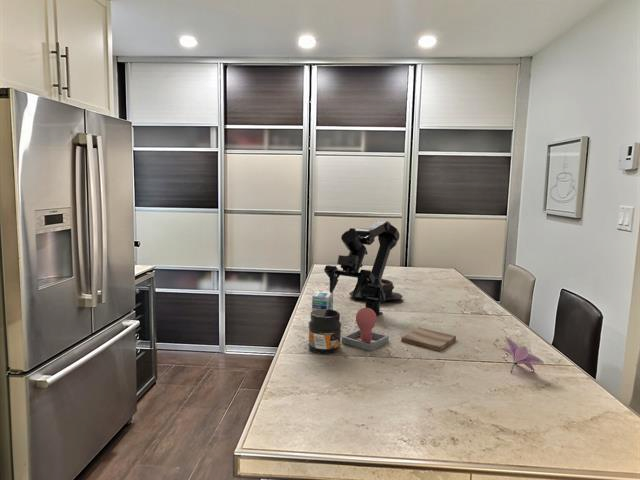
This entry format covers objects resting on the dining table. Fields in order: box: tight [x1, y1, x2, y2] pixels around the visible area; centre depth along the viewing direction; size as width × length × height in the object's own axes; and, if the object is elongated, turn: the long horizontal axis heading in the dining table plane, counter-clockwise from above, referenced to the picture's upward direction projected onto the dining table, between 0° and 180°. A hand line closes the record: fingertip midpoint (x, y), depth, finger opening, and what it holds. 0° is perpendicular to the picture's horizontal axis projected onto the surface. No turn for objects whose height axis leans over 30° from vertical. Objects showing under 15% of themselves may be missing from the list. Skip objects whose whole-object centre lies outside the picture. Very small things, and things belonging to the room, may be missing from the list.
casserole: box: [348, 278, 403, 302], centre depth 209 cm, size 25×19×8 cm
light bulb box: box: [311, 289, 334, 312], centre depth 174 cm, size 11×7×11 cm, turn 168°
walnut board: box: [400, 327, 457, 352], centre depth 154 cm, size 14×14×2 cm
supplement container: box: [308, 309, 342, 355], centre depth 144 cm, size 10×10×12 cm
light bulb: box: [355, 307, 378, 343], centre depth 151 cm, size 7×7×12 cm
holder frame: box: [341, 328, 390, 352], centre depth 151 cm, size 12×12×2 cm
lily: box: [500, 336, 545, 373], centre depth 130 cm, size 12×12×10 cm
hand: (341, 294), depth 159 cm, fingers open, 9 cm apart
